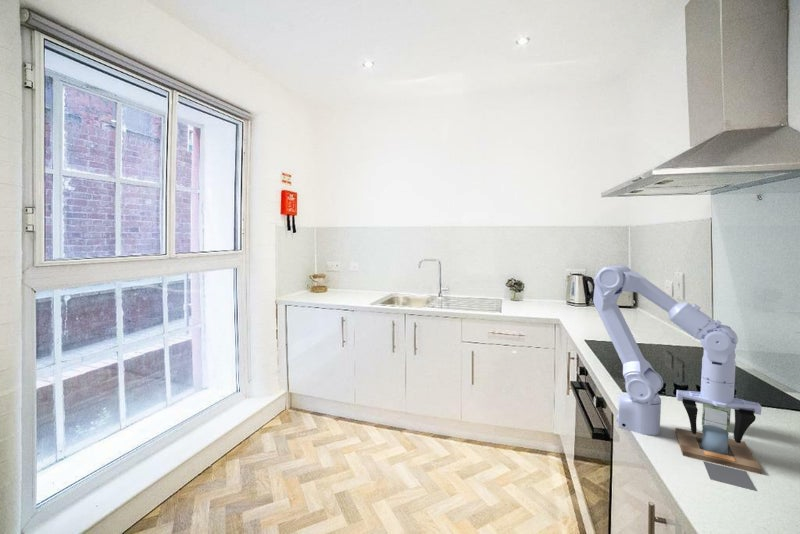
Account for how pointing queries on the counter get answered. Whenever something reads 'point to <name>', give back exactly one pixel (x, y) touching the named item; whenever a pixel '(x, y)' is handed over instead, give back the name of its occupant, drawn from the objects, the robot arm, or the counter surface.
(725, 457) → the socket plate
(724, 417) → the syrup box
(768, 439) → the counter surface
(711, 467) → the mat
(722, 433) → the peg
